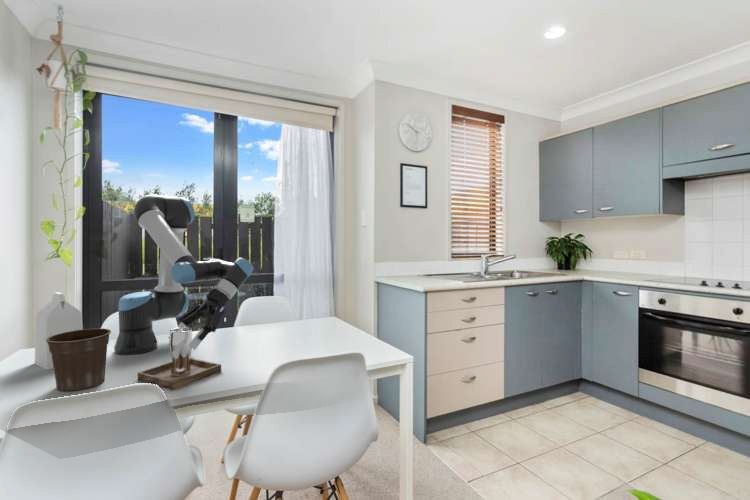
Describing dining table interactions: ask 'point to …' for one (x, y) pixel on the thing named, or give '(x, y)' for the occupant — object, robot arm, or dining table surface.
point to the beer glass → (180, 350)
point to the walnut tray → (166, 380)
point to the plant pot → (79, 358)
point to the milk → (54, 326)
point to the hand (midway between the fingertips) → (181, 343)
